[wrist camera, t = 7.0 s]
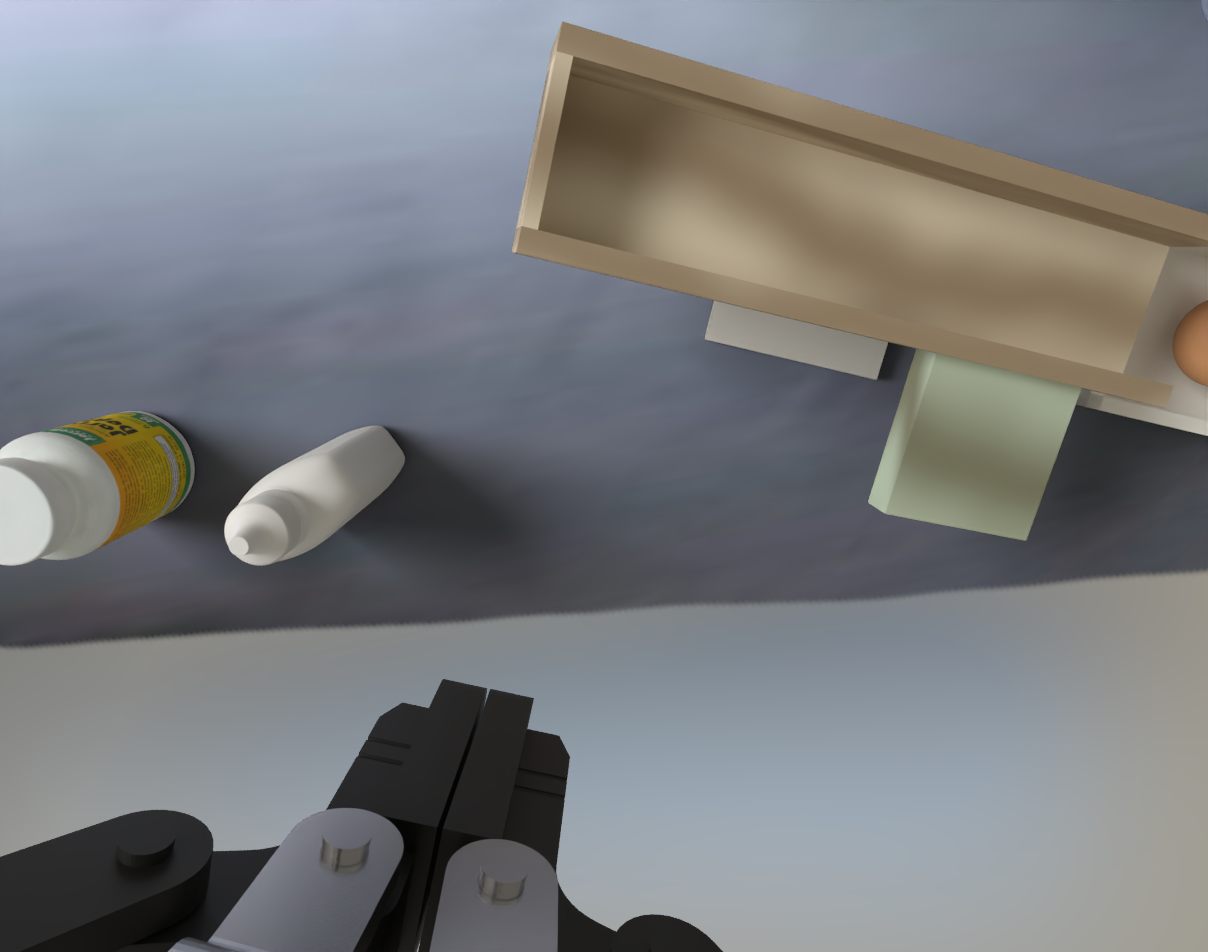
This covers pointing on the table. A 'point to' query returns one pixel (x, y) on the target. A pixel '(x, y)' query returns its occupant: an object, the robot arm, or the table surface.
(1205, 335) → the ball
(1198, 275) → the bin
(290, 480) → the eye dropper bottle
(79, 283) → the table surface
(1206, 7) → the hippopotamus toy
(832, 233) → the tilting chute
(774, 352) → the chute stand
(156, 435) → the supplement bottle
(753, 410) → the table surface
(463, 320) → the table surface
